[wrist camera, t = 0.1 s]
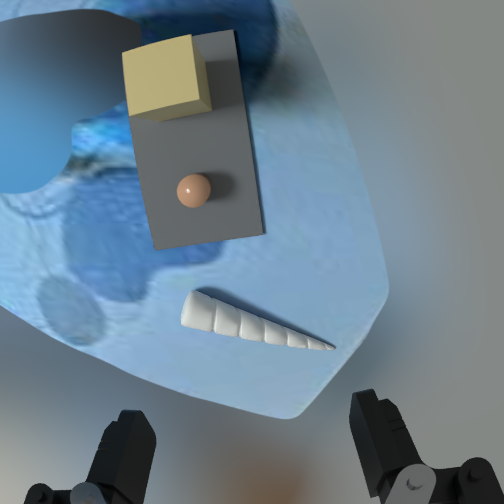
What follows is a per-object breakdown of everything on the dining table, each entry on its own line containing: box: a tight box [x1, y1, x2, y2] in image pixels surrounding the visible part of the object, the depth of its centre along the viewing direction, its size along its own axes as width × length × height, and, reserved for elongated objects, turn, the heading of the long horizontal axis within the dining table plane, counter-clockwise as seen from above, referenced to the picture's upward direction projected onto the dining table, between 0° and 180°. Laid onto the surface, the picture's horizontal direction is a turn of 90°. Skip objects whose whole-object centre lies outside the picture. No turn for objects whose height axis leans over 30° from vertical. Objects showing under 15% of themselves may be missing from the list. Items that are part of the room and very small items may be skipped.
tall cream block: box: [122, 34, 212, 122], centre depth 27 cm, size 6×6×10 cm
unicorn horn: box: [181, 290, 335, 350], centre depth 41 cm, size 5×24×5 cm, turn 63°
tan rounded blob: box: [177, 173, 212, 208], centre depth 34 cm, size 4×4×3 cm
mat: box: [122, 30, 263, 250], centre depth 34 cm, size 26×14×1 cm, turn 8°
